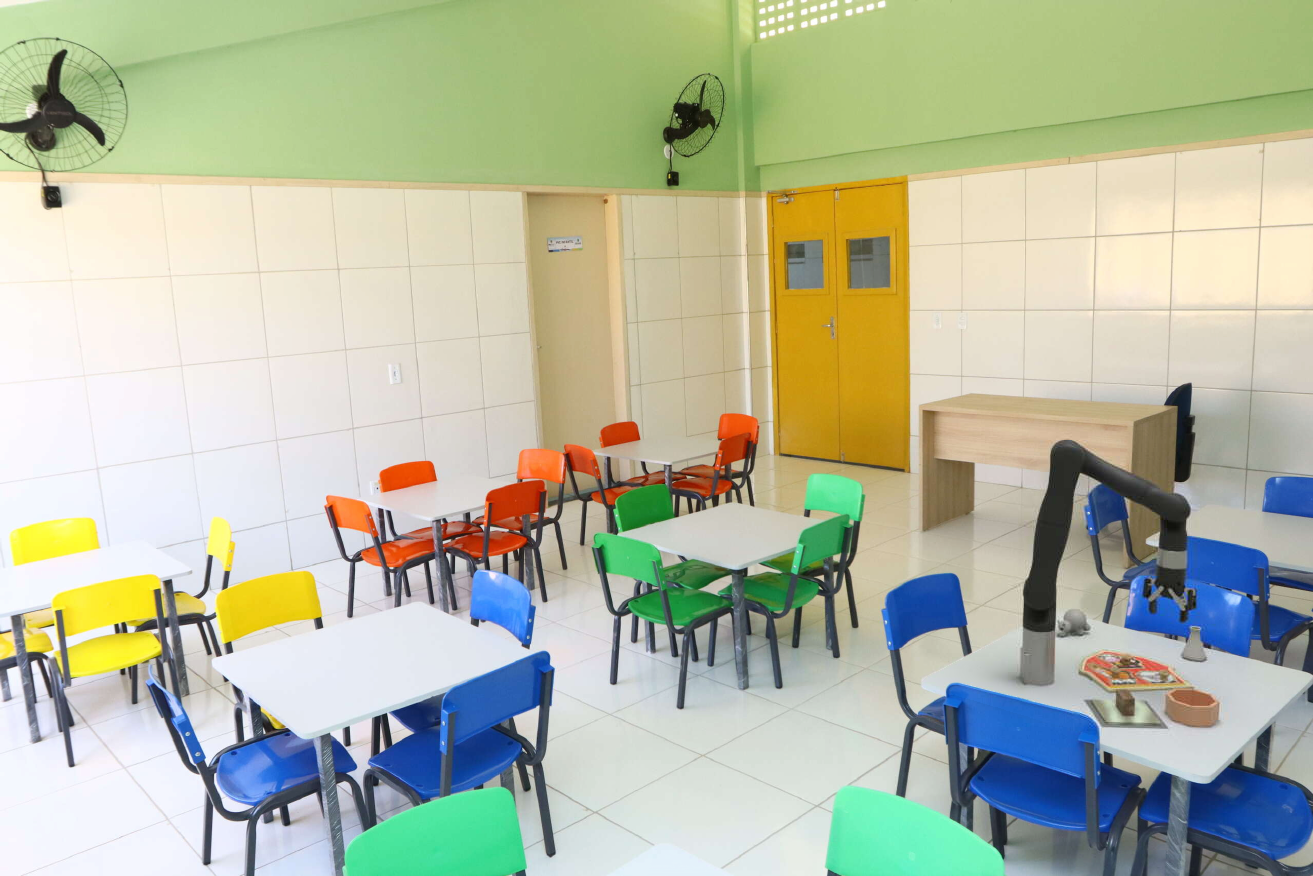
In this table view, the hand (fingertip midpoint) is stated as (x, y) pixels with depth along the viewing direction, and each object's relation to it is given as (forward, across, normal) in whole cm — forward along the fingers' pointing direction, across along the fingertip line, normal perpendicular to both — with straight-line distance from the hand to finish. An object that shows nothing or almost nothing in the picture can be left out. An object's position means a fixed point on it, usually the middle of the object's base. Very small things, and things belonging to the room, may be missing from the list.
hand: (1167, 617), depth 269 cm
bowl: (+24, +12, -8) cm, 28 cm away
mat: (+24, +1, -20) cm, 31 cm away
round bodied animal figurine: (+24, -44, +21) cm, 55 cm away
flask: (+24, -9, +33) cm, 42 cm away
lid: (+24, +1, -20) cm, 31 cm away
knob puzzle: (+25, -16, +7) cm, 30 cm away
